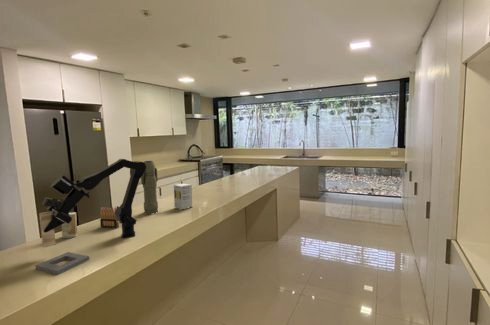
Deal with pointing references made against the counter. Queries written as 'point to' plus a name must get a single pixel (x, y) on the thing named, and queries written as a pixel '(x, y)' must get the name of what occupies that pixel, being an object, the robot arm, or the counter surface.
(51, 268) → the socket board
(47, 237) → the maple peg
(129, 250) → the counter surface
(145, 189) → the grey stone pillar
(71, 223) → the skincare box
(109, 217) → the ammunition clip
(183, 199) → the supplement box
